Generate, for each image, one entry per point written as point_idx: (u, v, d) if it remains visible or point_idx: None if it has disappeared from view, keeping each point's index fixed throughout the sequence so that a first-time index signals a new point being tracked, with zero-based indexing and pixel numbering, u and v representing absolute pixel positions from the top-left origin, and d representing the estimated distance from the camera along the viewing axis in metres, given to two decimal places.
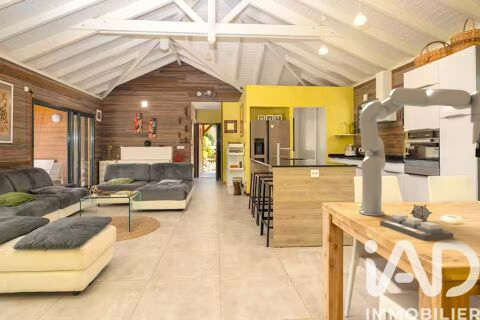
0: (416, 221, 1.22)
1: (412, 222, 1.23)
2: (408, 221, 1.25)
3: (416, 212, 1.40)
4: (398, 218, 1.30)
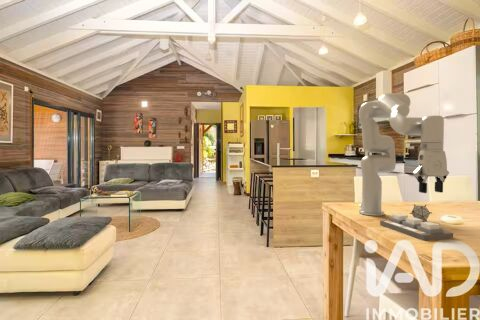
0: (416, 221, 1.22)
1: (412, 222, 1.23)
2: (408, 221, 1.25)
3: (416, 212, 1.41)
4: (398, 218, 1.30)
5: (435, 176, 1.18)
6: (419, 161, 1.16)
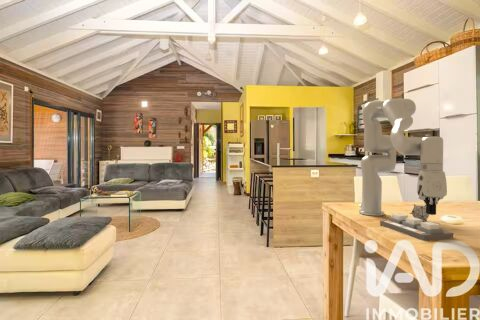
0: (416, 221, 1.22)
1: (412, 222, 1.23)
2: (408, 221, 1.25)
3: (416, 212, 1.41)
4: (398, 218, 1.30)
5: None
6: (419, 182, 1.16)
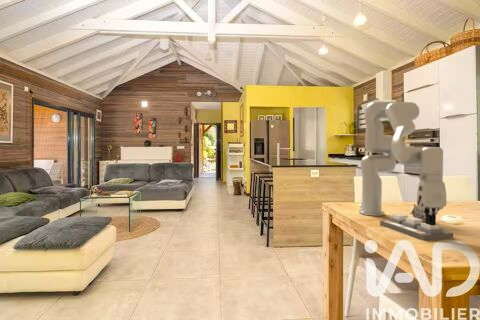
0: (416, 221, 1.22)
1: (412, 222, 1.23)
2: (408, 221, 1.25)
3: (416, 212, 1.41)
4: (398, 218, 1.30)
5: None
6: (419, 192, 1.16)
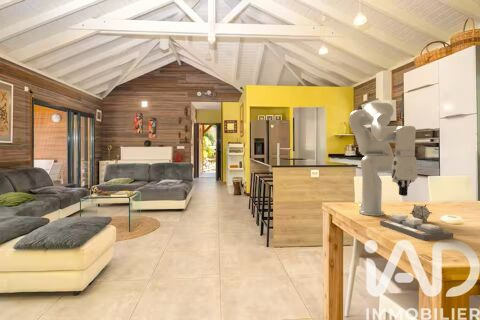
0: (416, 221, 1.22)
1: (412, 222, 1.23)
2: (408, 221, 1.25)
3: (416, 212, 1.41)
4: (398, 218, 1.30)
5: (403, 179, 1.31)
6: (393, 166, 1.30)
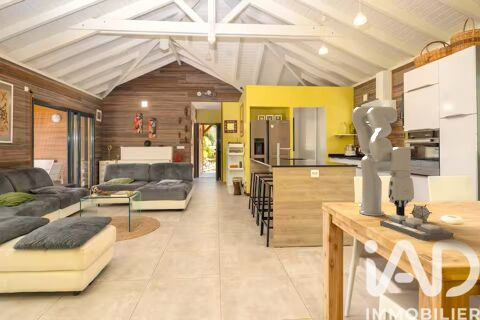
0: (416, 221, 1.22)
1: (412, 222, 1.23)
2: (408, 221, 1.25)
3: (416, 212, 1.40)
4: (398, 218, 1.30)
5: (400, 200, 1.33)
6: (389, 187, 1.32)
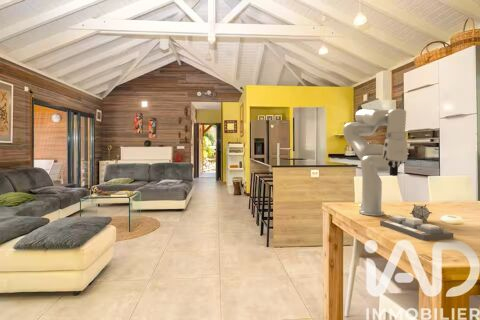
0: (416, 221, 1.22)
1: (412, 222, 1.23)
2: (408, 221, 1.25)
3: (416, 212, 1.41)
4: None
5: (394, 160, 1.39)
6: (384, 148, 1.37)
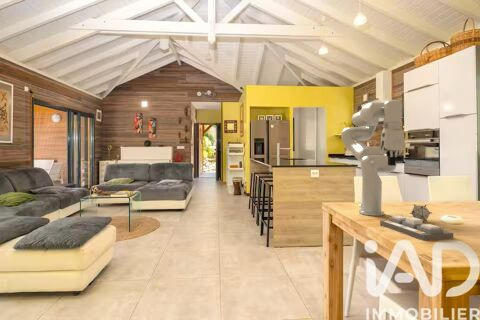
0: (416, 221, 1.22)
1: (412, 222, 1.23)
2: (408, 221, 1.25)
3: (416, 212, 1.41)
4: None
5: (392, 151, 1.41)
6: (382, 138, 1.39)
